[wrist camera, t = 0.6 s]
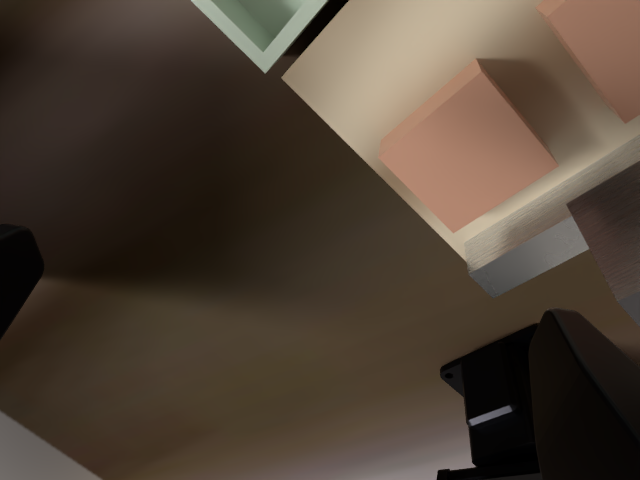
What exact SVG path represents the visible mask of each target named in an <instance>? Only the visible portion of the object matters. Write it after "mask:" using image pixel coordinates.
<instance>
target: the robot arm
mask: <svg viewBox="0 0 640 480" xmlns="http://www.w3.org/2000/svg"><path fill="white" fill-rule="evenodd" d="M43 271H44V261H43V259H42V256H41V253H40V251H39V248H38V246H37V243H36V241H35V238H34V236H33V234H32V232H31V231H30V230H29V229H28V228H26V227H24V226H18V225H11V224H1V225H0V340H1V338H2V337H3V335H4V334H5V332H6V331H7V329H8V328H9V326H10V325H11V323H12V322H13V320H14V318H15V317H16V315H17V314H18V312H19V311H20V309H21V308H22V306H23V304H24V303H25V301H26V300H27V298H28V297H29V295H30V294H31V292H32V290H33V289H34V287H35V286H36V284H37V283H38V281H39V280H40V278H41V276H42V274H43ZM532 335H534V336H532ZM440 376H441V378H442V379H443V380H444V381H445V382H446V383H448V384H449V385H450V386H451V387H452V388H453V389H455V390H456V391H457V392H458V393H459V394H461V395H462V396H463V397H464V404H465V415H466V423H467V425H468V428H469V437H470V447H471V457H472V463H473V464H474V465H475V466H476V467H475V468H467V469H459V470H451V471H450V469H443V470H438V474H437V480H640V367H639V366H638V365H637V364H635V363H634V362H633V361H632V360H631V359H630V358H629V357H628V356H627V355H625V354H624V353H623V352H622V351H621V350H620V349H619V348H618V347H617V346H615V345H614V344H613V343H612V342H611V341H610V340H609V339H608V338H607V337H605V336H604V335H603V334H602V333H601V332H600V331H599V330H598V329H597V328H595V327H594V326H593V325H592V324H591V323H590V322H589V321H588V320H587V319H585V318H584V317H583V316H582V315H581V314H580V313H578V312H576V311H573V310H567V309H560V308H549V309H547V310H546V311H545V313H544V314H543V316H542V319H541V321H540V323H539V325H538V326H530V327H527V328H525V329H523V330H521V331H519V332H516V333H514V334H512V335H510V336H508V337H505V338H503V339H501V340H499V341H497V342H494V343H492V344H490V345H488V346H486V347H484V348H481V349H479V350H477V351H475V352H473V353H470V354H468V355H466V356H464V357H462V358H459V359H457V360H455V361H453V362H451V363H449V364H446V365H444V366H442V367H441V369H440Z"/></svg>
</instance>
